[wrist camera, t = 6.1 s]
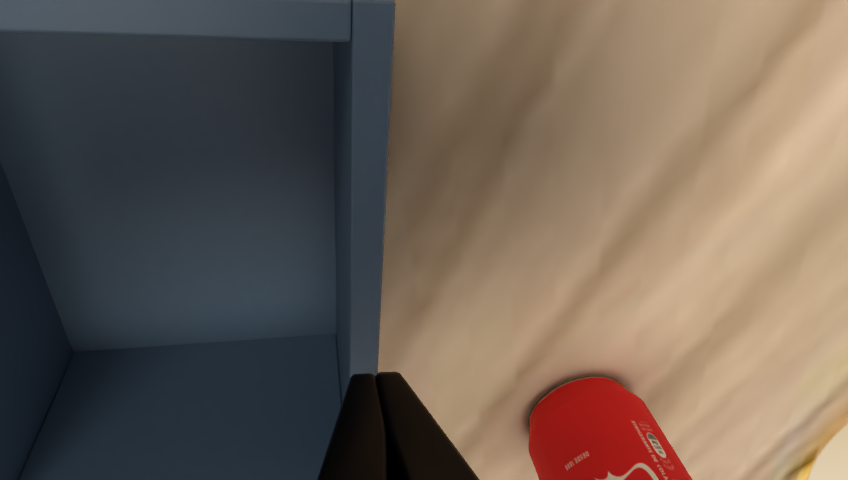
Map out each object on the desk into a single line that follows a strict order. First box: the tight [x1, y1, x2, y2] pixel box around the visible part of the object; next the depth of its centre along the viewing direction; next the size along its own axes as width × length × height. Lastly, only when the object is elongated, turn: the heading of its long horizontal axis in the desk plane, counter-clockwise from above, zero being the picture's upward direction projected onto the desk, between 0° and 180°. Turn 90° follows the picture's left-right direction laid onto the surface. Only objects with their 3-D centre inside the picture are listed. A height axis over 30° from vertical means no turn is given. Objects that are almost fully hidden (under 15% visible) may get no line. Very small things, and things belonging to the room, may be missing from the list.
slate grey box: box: [0, 0, 395, 480], centre depth 13 cm, size 12×6×9 cm
